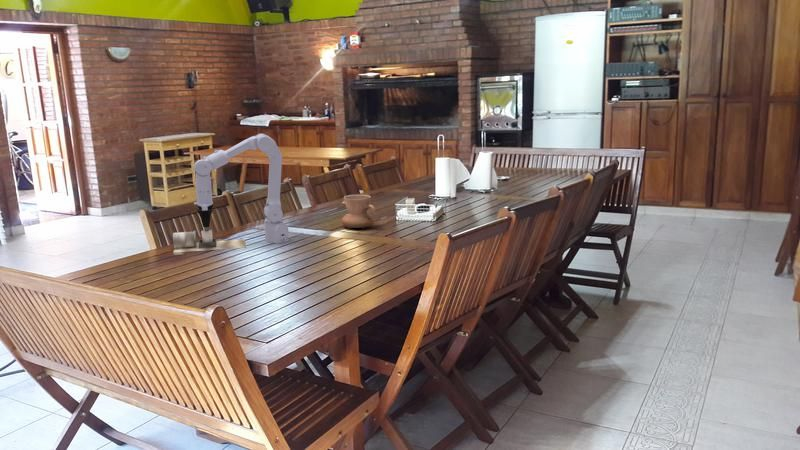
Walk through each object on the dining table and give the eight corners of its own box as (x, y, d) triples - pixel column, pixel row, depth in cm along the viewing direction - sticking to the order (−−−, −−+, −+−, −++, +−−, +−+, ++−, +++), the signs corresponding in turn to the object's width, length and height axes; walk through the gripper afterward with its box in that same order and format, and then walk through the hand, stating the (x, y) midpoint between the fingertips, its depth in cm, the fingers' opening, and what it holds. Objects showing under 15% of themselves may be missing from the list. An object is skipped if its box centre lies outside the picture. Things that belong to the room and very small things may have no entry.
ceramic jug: (333, 227, 286) (332, 196, 283) (353, 222, 298) (353, 192, 295) (364, 233, 276) (363, 201, 273) (384, 227, 288) (384, 196, 285)
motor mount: (244, 241, 262) (243, 224, 260) (246, 250, 248) (245, 231, 247) (175, 246, 254) (174, 228, 253) (173, 255, 241) (171, 236, 240)
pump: (215, 245, 251) (213, 227, 250) (206, 247, 248) (205, 229, 247) (209, 244, 254) (207, 226, 252) (200, 245, 251) (199, 228, 249)
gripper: (193, 188, 252) (196, 222, 255) (192, 194, 238) (195, 229, 241) (212, 187, 254) (214, 220, 257) (212, 193, 240) (214, 228, 243)
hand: (206, 225), depth 249 cm, fingers open, 7 cm apart
